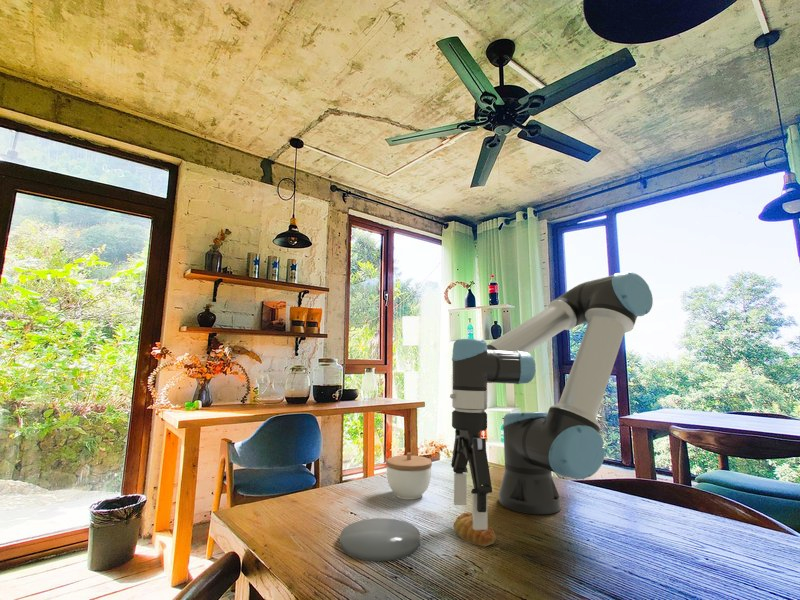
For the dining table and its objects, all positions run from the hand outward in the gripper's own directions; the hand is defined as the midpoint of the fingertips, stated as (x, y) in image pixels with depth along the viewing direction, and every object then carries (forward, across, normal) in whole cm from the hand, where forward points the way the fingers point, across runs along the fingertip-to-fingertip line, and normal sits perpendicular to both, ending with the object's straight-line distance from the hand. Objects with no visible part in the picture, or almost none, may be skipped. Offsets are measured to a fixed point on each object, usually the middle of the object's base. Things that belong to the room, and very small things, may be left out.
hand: (469, 515), depth 81 cm
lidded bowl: (+4, -28, -8) cm, 30 cm away
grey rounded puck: (+5, 0, -18) cm, 19 cm away
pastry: (+5, -1, +2) cm, 5 cm away
